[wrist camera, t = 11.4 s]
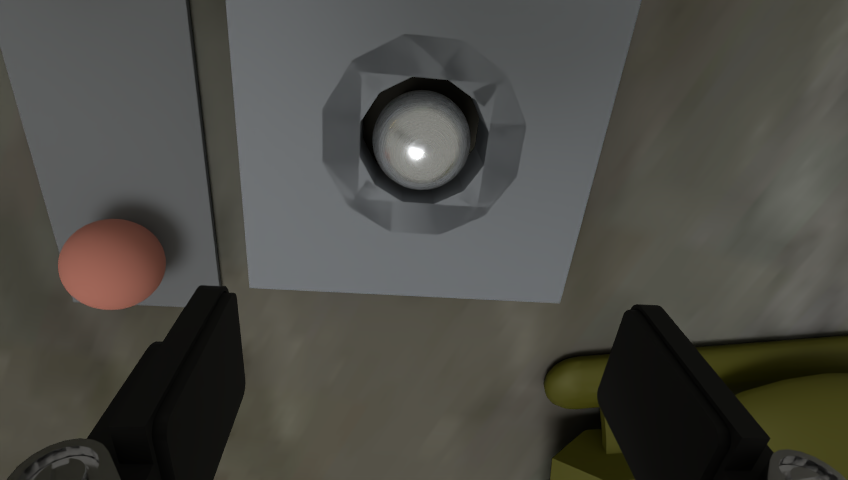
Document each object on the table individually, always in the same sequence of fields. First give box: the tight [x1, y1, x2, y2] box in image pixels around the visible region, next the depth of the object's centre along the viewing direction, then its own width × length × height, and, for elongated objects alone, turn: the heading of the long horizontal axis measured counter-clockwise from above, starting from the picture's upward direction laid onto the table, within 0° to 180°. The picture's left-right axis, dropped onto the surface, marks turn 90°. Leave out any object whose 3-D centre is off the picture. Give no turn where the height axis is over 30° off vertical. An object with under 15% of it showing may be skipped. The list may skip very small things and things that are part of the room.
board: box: [226, 0, 642, 303], centre depth 28 cm, size 20×20×4 cm
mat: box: [0, 0, 221, 307], centre depth 28 cm, size 28×10×1 cm, turn 175°
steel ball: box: [373, 90, 471, 190], centre depth 27 cm, size 6×6×6 cm
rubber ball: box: [58, 219, 166, 310], centre depth 30 cm, size 6×6×6 cm
